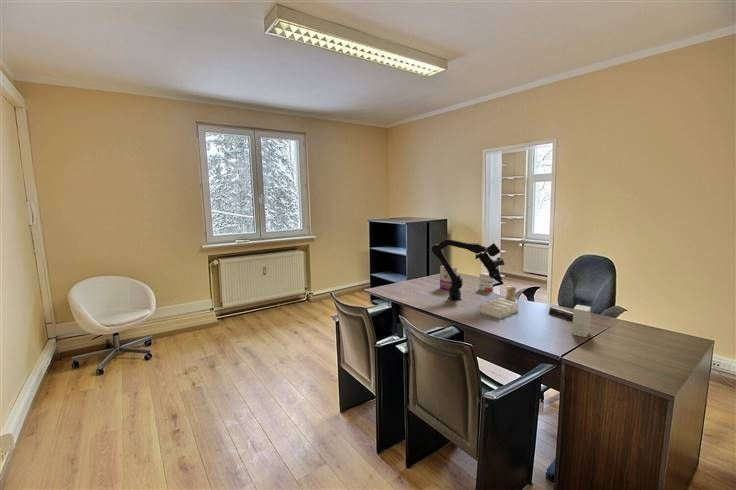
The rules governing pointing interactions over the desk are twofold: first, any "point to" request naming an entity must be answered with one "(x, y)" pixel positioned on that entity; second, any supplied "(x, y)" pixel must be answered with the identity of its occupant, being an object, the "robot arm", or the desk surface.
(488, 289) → the ink box
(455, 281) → the robot arm
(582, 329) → the small box
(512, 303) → the rack
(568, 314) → the brown flat box
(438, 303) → the desk surface
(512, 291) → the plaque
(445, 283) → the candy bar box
